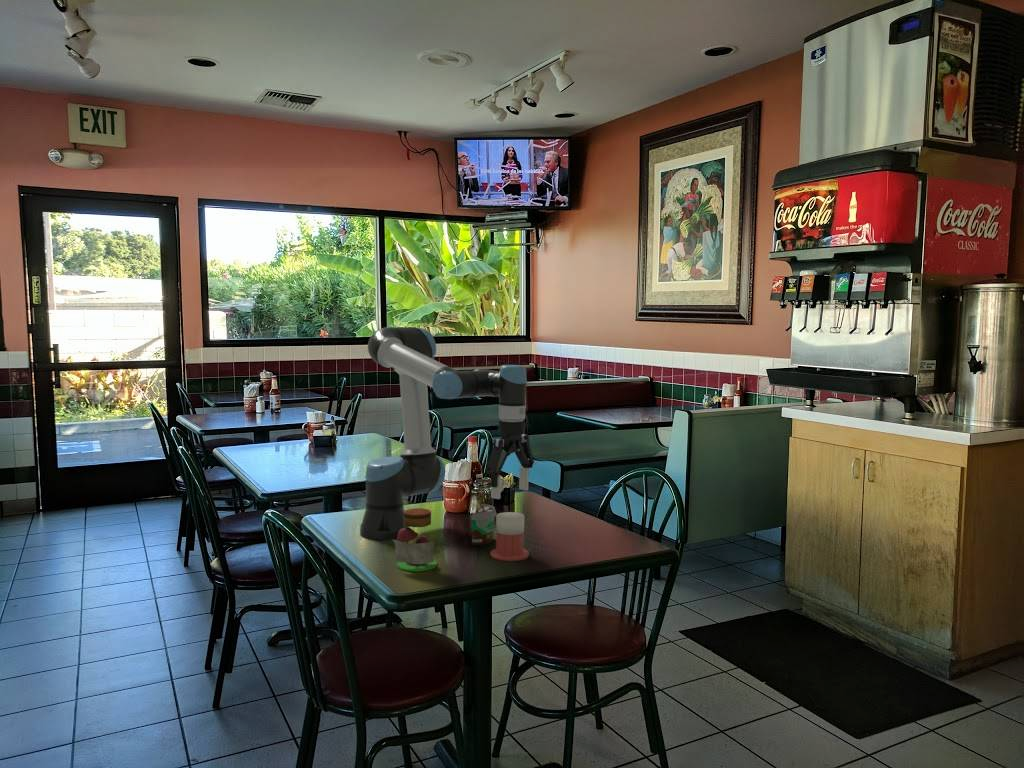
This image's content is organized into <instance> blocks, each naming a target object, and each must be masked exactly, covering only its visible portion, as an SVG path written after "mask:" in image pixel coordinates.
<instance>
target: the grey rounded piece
mask: <svg viewBox="0 0 1024 768" xmlns="http://www.w3.org/2000/svg"><path fill="white" fill-rule="evenodd" d="M495 519H496V520H495V521H496V523H495V532H496V534H497V533H499V534H503V535H518V534H522V533H525V514H523V513H520V512H514V511H512V512H511V511H509V512H508V511H507V512H506V511H505V512H504V511H503V512H499V513H496V516H495Z"/></svg>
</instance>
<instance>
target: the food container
mask: <svg viewBox="0 0 1024 768" xmlns="http://www.w3.org/2000/svg"><path fill="white" fill-rule="evenodd" d="M496 515H497V511H496V509H495V506H494V505H490V504H487V503H485V504H484V503H481V504H480V507H479V508H477V509H476V510H475V512H471V515H470V516H471V518H470V519H471V544H472V546H473V545H474V546H479V545H487V544H491V543H492V542H493V535H494V527H495V526H494V523H495V518H496Z"/></svg>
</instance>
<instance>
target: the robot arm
mask: <svg viewBox="0 0 1024 768" xmlns="http://www.w3.org/2000/svg"><path fill="white" fill-rule="evenodd" d="M367 352H368V354H369V356H370V358H371V359H372V360H373V362H375V363H376V364H378V365H380V366H381V367H384V368H389V369H391V368H393V370H394V371H395V372H396V373H397V374H398V376H399V387H400V388H399V389H400V401H401V402H400V404H401V414H402V415H401V418H402V428H403V430H402V431H403V432H402V433H403V442H404V448H403V450H402V451H401V452H400V454H399V455H400V456H398V455H397V456H396V455H395V456H394V455H391V456H382V457H378V458H375V459H373V460H370V461H369V462H368V463H367V465H366V466H365V467H366V468H365V476H364V478H365V511H364V514H363V518H362V523H361V524H360V526H359V534H360V536H361V537H363V538H366V539H373V540H392V539H393V540H395V539H397V537H398V532H399V530H400V529H402V528H407V527H408V528H410V527H409V526H405V525H404V511H405V508H404V500H405V499H404V497H405V498H406V497H410V496H411V497H412V496H416V495H421V494H425V495H426V494H430V493H432V492H435V491H437V490H439V489H440V487H441V486H442V485H443V484H444V481H445V477H446V465H445V464H444V462H443V460H442V458H441V457H440V456H438V455H437V450H436V449H434V447H432V441H431V439H432V438H431V427H430V426H431V425H430V414H429V413H430V412H429V399H428V387H430V388H432V391H433V393H435V396H436V397H437V398H438V399H442V400H443V399H444V400H455V399H463V398H464V399H465V398H477V397H478V398H479V397H494V398H499V400H498V418H499V421H498V434H500V435H501V438H500V439H499V438H495V439H494V438H493V439H494V440H493V444H492V445H493V447H492V450H491V453H490V456H489V458H488V459H489V460H488V462H487V465H486V468H485V469H486V470H485V474H487V475H488V476H489V475H490V487H491V488H490V498H491V499H496V500H501V498H502V497H501V495H502V494H501V492H502V491H501V489H502V484H501V483H502V475H500V473H501V471H502V470H503V467H504V464H505V463H506V461H507V458H508V457H509V456H510V455H511V454H515V456H516V458H517V460H518V462H519V464H520V465H521V466H520V467H519V473H518V474H519V476H518V477H519V479H518V480H519V481H518V489H519V490H521V491H529V477H530V469H532V468H533V466H534V464H535V460H534V457H533V453H532V449H531V445H530V441H529V440H530V439H529V434H525V433H526V421H525V420H526V402H527V384H528V383H527V382H528V379H527V368H526V367H525V366H524V365H520V364H518V365H517V364H502V365H500V367H499V370H493V369H487V368H484V369H483V368H477V369H474V370H457V369H455V368H452V367H450V366H448V365H446V364H444V363H441V362H439V361H437V360H436V359H435V358H436V357H435V356H436V354H437V343H436V341H435V337H434V336H433V335H432V333H430V331H429V330H428V329H426V328H422V327H416V326H414V327H413V326H411V327H409V326H408V327H406V326H405V327H400V326H399V327H392V326H386V327H382V328H379V329H377V330H375V331H374V333H372V335H370V338H369V339H368V343H367ZM427 386H428V387H427Z"/></svg>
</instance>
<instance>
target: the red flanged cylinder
mask: <svg viewBox="0 0 1024 768" xmlns="http://www.w3.org/2000/svg"><path fill="white" fill-rule="evenodd" d="M524 533H525V532H524ZM524 533H522V534H518V535H503V534H499V533H497V532H496V538H495V539H496V543H495V544H496V546H495V547H496V548H493V549H492V550H491V551H490V557H491V558H492V559H494V560H497V561H502V562H518V561H519V562H520V561H524V560H526V559H529V557H530V551H529V550H527V549H525V548H524V540H525V539H524V535H525V534H524Z"/></svg>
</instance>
